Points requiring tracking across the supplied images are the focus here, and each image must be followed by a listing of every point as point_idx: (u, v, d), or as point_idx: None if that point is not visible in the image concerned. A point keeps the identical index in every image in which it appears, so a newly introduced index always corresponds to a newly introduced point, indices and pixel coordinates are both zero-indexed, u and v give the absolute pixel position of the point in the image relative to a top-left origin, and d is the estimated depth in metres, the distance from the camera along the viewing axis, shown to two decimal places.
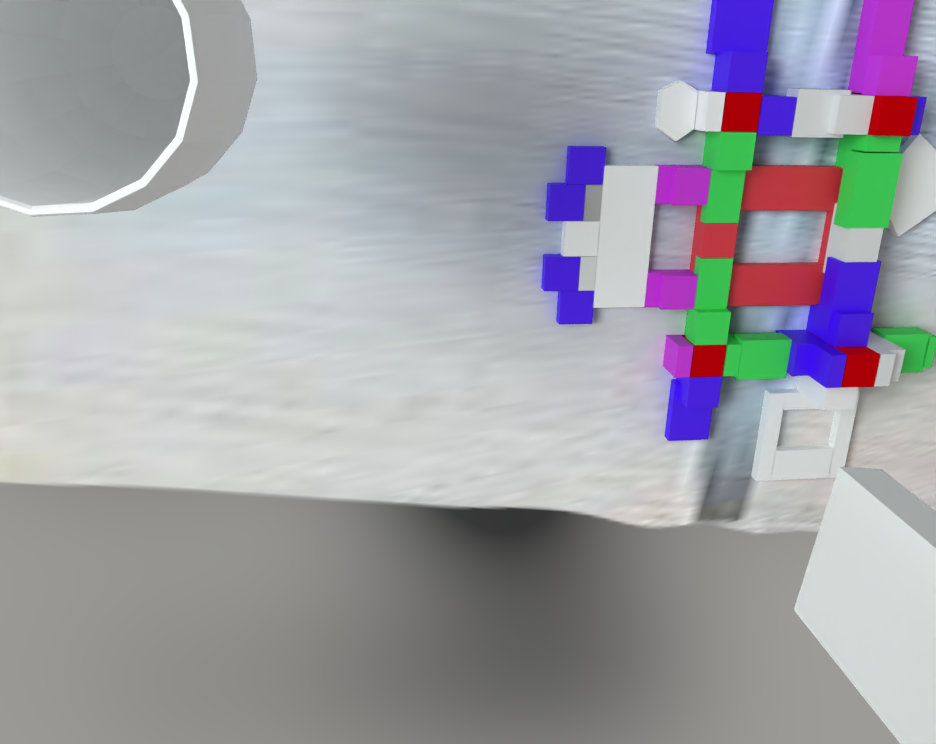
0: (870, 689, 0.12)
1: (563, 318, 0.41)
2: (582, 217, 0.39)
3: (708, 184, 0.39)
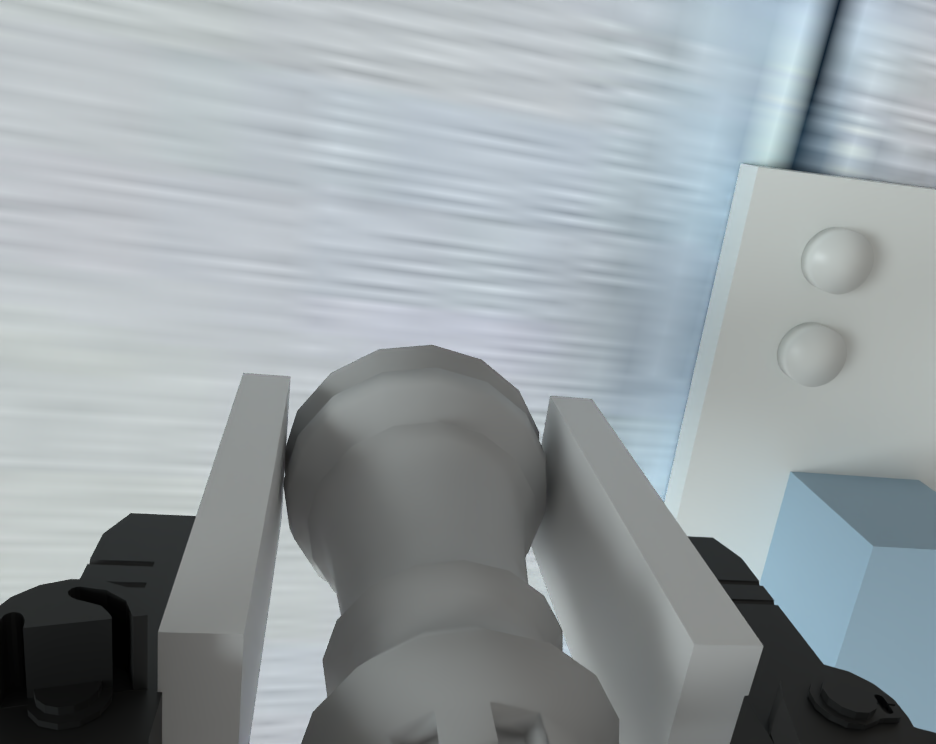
0: (553, 592, 0.13)
1: None
2: None
3: None
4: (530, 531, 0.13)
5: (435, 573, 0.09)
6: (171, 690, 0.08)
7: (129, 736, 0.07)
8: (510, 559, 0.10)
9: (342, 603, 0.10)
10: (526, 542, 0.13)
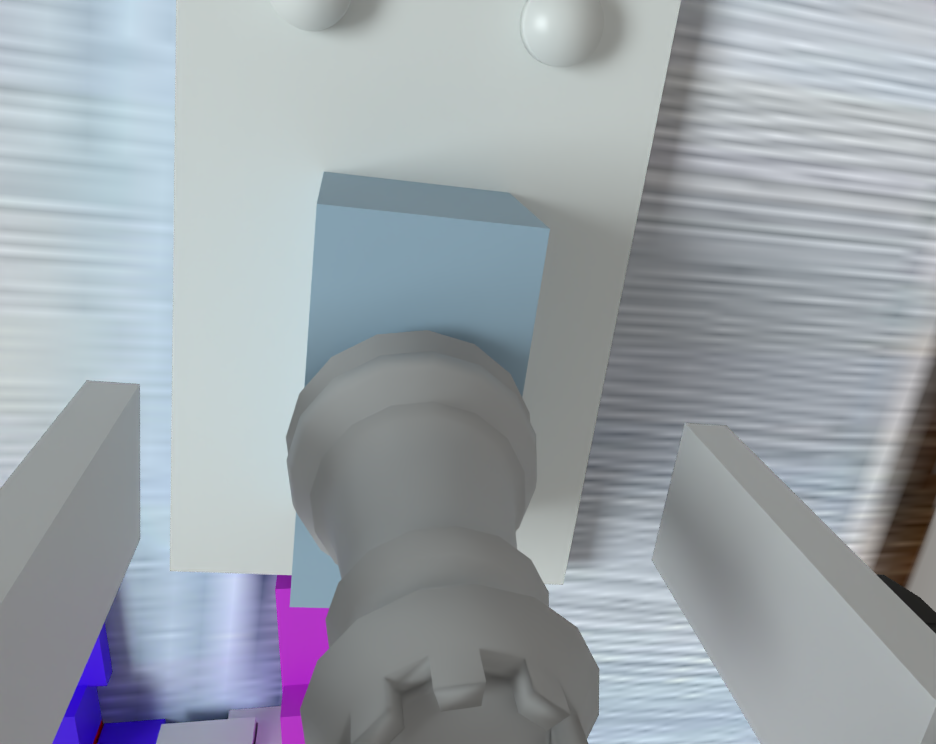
0: (700, 626, 0.13)
1: None
2: None
3: None
4: (520, 506, 0.13)
5: (429, 538, 0.10)
6: None
7: None
8: (501, 527, 0.11)
9: (343, 569, 0.11)
10: (517, 516, 0.13)
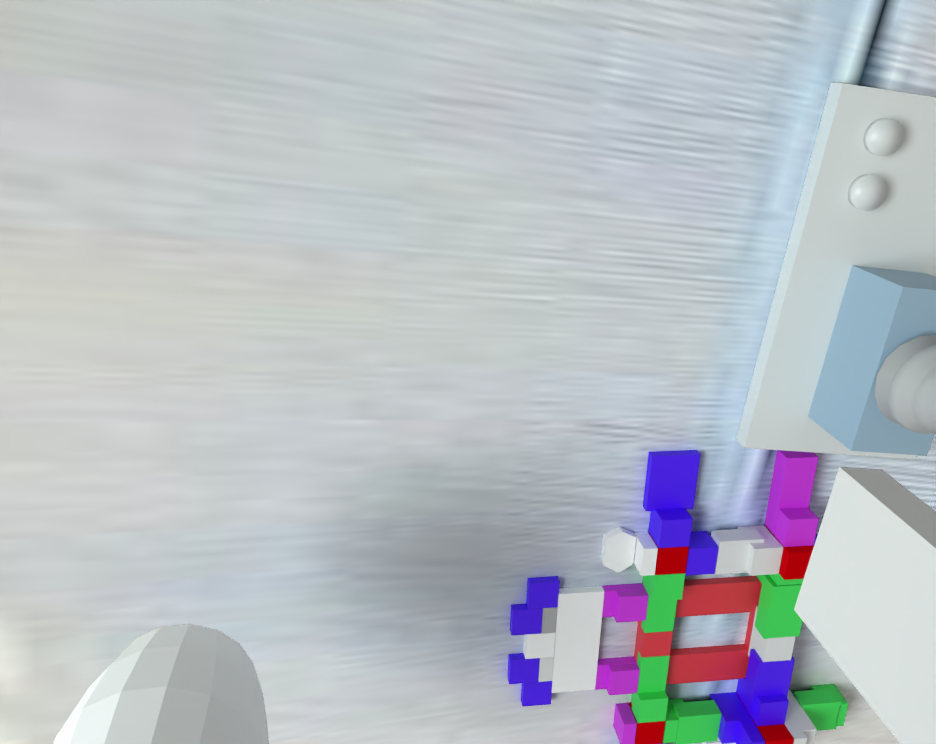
0: (870, 689, 0.12)
1: (526, 702, 0.48)
2: (540, 630, 0.46)
3: (646, 606, 0.46)
4: None
5: None
6: None
7: None
8: None
9: None
10: None
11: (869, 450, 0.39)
